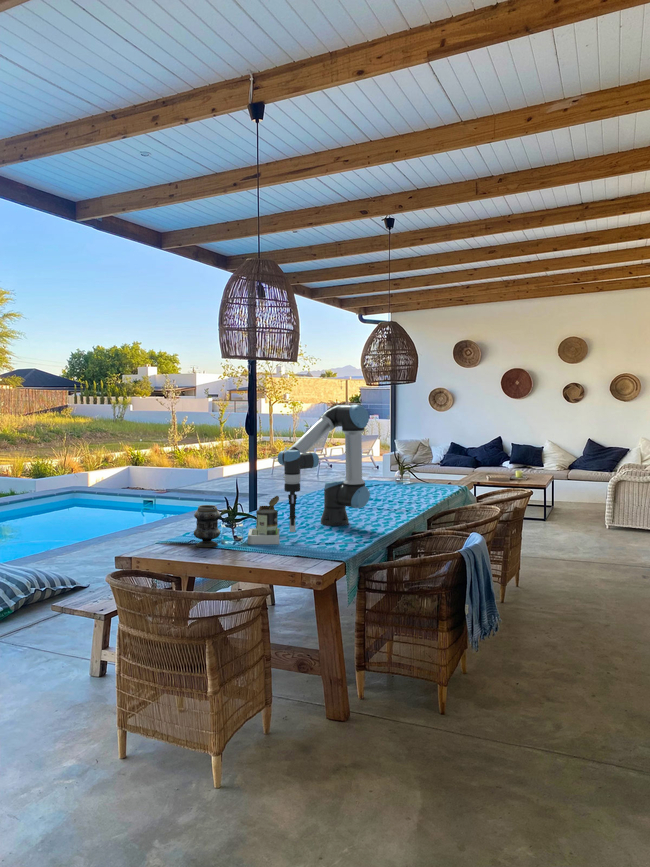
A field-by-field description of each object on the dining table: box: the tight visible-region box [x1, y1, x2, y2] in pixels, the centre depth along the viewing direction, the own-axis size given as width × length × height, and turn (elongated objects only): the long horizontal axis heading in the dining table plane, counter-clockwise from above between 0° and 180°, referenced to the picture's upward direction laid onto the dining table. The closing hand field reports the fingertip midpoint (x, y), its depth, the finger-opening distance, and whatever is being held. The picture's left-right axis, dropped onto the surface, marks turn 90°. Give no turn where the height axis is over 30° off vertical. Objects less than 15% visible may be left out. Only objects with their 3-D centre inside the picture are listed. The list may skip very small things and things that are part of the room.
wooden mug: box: [258, 495, 280, 510], centre depth 321 cm, size 9×14×18 cm, turn 50°
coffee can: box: [255, 509, 279, 535], centre depth 295 cm, size 10×10×14 cm
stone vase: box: [193, 504, 221, 548], centre depth 283 cm, size 12×12×18 cm
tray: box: [247, 527, 280, 545], centre depth 295 cm, size 14×16×4 cm
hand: (292, 531), depth 296 cm, fingers closed
